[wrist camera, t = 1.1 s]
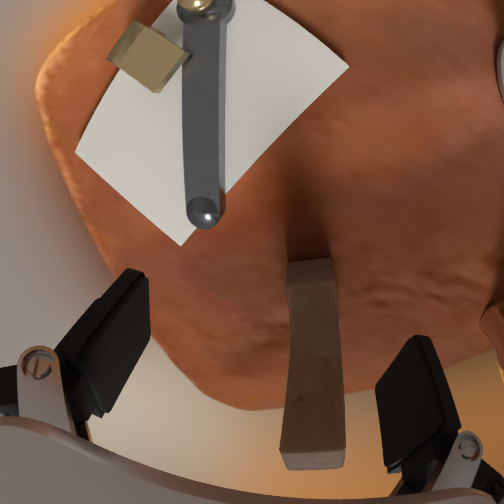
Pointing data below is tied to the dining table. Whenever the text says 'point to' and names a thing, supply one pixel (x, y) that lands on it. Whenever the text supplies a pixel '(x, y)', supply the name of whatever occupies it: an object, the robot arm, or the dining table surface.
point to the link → (204, 112)
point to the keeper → (153, 50)
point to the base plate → (236, 111)
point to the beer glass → (495, 330)
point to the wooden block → (313, 371)
